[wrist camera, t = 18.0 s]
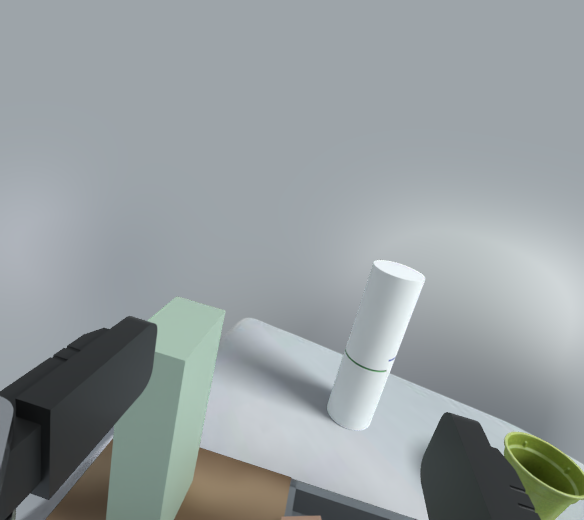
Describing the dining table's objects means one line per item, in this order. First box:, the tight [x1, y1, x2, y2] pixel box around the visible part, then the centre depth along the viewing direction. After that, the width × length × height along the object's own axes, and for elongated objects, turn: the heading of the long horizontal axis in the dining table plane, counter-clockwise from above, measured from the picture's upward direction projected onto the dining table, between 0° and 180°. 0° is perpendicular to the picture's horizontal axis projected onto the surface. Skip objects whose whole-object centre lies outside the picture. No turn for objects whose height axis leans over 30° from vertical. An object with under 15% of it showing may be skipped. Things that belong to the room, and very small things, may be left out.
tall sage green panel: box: [106, 297, 225, 520], centre depth 27 cm, size 7×4×18 cm, turn 171°
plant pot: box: [504, 432, 584, 520], centre depth 46 cm, size 9×9×9 cm
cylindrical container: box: [327, 260, 425, 431], centre depth 53 cm, size 7×7×25 cm
